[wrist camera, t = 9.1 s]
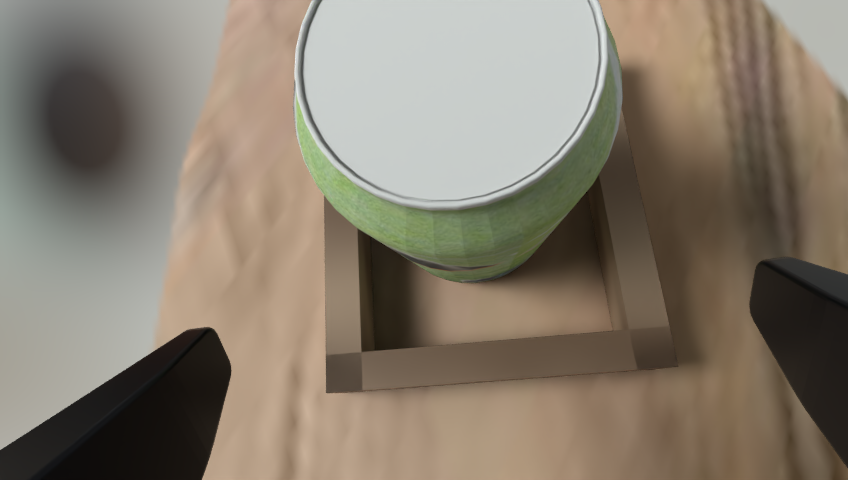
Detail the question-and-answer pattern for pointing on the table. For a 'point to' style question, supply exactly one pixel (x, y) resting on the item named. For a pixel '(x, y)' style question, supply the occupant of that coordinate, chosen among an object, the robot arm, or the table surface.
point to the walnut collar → (517, 358)
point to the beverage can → (456, 122)
